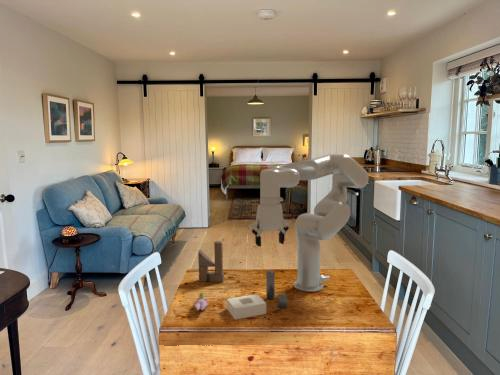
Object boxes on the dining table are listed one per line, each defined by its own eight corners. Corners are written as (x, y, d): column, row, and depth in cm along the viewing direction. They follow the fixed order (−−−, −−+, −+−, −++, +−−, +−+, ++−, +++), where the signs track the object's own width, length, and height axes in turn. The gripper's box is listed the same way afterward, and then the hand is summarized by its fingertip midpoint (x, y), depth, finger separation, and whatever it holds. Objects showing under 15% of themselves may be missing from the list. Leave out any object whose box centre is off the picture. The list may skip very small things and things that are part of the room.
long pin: (272, 296, 152) (272, 269, 151) (275, 299, 149) (275, 272, 148) (265, 297, 151) (265, 270, 150) (268, 300, 148) (268, 273, 147)
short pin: (284, 304, 144) (284, 293, 143) (288, 308, 141) (288, 296, 140) (276, 305, 143) (276, 294, 142) (280, 309, 140) (280, 297, 139)
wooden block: (200, 279, 171) (199, 240, 169) (224, 279, 171) (223, 240, 168) (198, 282, 168) (197, 242, 166) (222, 282, 167) (222, 243, 165)
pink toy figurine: (194, 304, 148) (191, 315, 133) (194, 288, 149) (191, 298, 134) (210, 303, 149) (209, 314, 134) (209, 288, 149) (208, 297, 134)
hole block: (256, 303, 145) (256, 293, 144) (266, 313, 136) (266, 303, 136) (227, 309, 141) (226, 298, 140) (234, 319, 132) (234, 308, 132)
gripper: (286, 198, 152) (285, 240, 154) (245, 201, 146) (246, 244, 148) (294, 201, 145) (294, 244, 147) (252, 204, 139) (252, 249, 141)
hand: (270, 244), depth 147 cm, fingers open, 9 cm apart
